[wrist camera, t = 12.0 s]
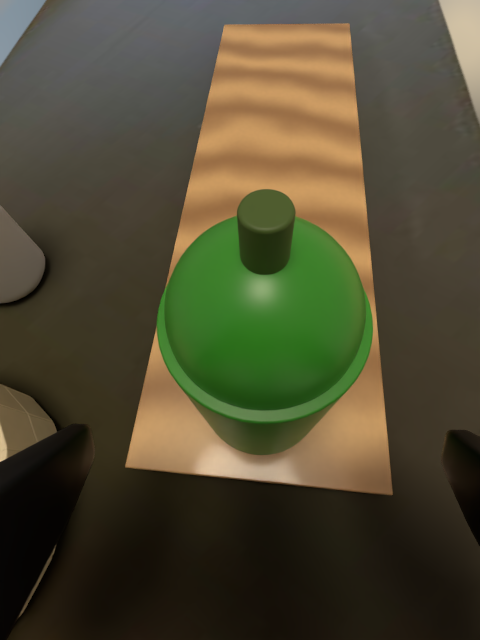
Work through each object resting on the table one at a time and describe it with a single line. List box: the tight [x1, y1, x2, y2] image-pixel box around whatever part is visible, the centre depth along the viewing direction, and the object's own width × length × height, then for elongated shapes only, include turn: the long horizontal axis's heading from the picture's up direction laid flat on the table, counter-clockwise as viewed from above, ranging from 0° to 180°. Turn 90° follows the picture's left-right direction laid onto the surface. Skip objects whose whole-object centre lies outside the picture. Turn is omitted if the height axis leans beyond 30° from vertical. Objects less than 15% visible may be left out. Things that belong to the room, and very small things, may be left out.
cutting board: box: [125, 24, 393, 495], centre depth 24 cm, size 40×12×2 cm, turn 175°
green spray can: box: [157, 189, 373, 455], centre depth 11 cm, size 6×6×12 cm
